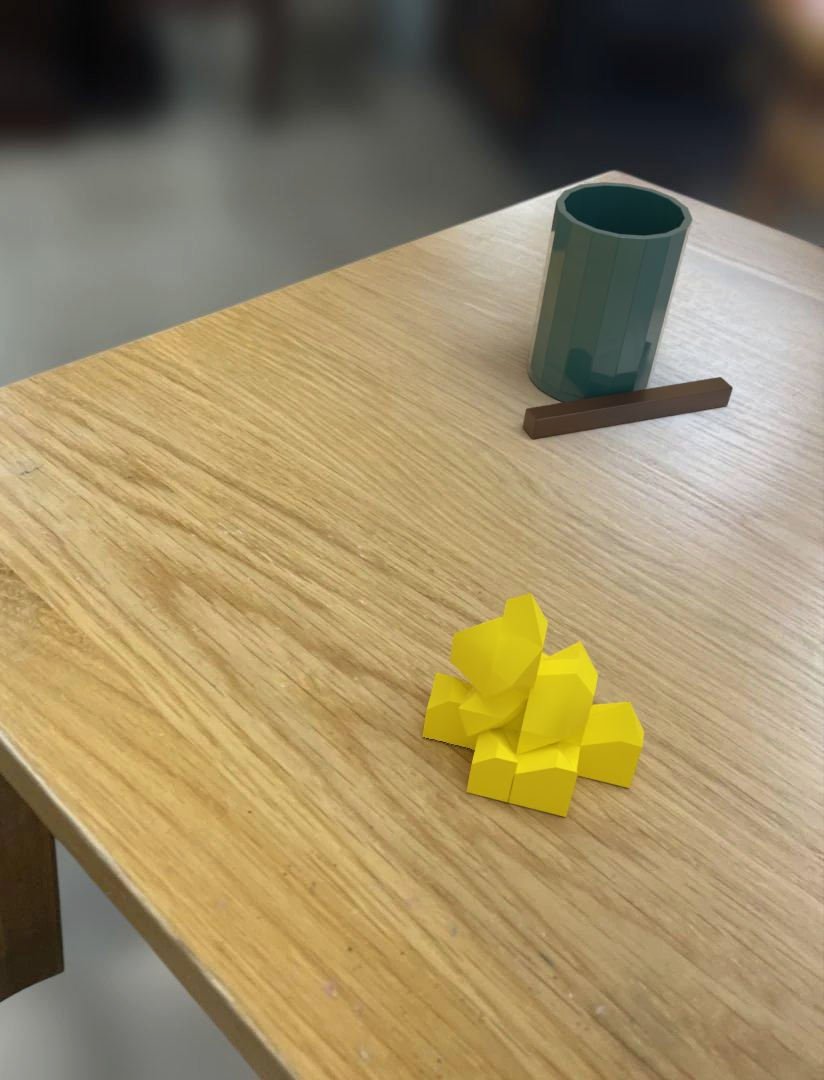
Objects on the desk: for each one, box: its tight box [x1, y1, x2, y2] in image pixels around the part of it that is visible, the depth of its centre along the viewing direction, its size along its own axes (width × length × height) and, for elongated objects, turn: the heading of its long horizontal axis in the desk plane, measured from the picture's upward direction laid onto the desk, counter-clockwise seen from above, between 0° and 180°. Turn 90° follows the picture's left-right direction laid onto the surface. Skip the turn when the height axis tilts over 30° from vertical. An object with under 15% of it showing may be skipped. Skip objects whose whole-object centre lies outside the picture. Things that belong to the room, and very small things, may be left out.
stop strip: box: [522, 376, 734, 440], centre depth 66 cm, size 12×1×1 cm, turn 108°
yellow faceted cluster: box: [422, 592, 645, 818], centre depth 45 cm, size 6×8×8 cm
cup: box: [527, 181, 694, 403], centre depth 66 cm, size 7×7×10 cm
